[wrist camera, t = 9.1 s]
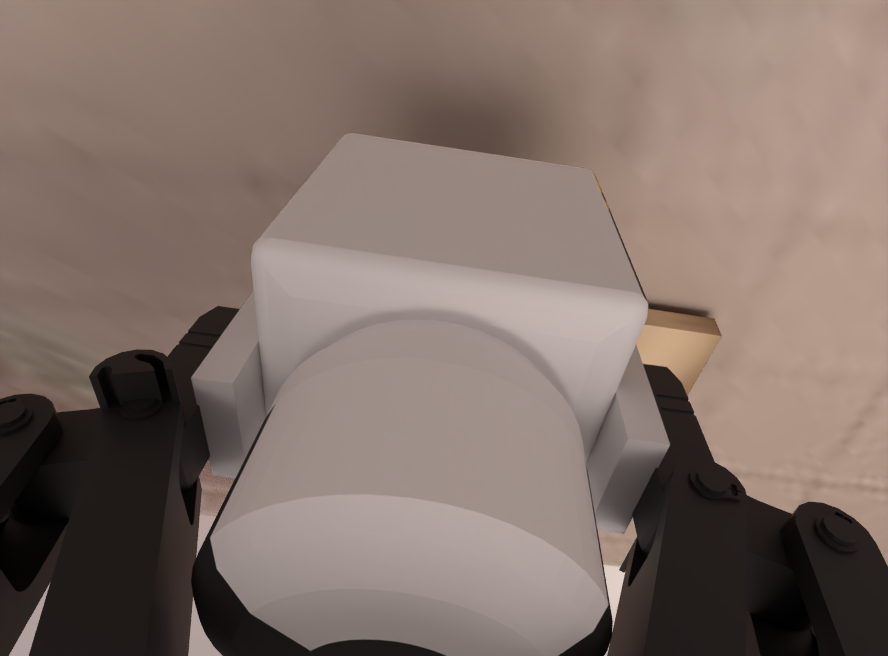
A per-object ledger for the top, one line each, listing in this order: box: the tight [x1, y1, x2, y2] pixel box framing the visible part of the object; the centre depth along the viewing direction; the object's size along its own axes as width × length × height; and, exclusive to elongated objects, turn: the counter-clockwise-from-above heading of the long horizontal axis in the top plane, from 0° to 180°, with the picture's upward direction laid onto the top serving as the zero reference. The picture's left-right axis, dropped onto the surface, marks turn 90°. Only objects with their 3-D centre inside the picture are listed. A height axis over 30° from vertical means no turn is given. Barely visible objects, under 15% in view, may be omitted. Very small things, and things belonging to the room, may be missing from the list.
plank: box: [636, 309, 722, 396], centre depth 32 cm, size 16×8×2 cm, turn 84°
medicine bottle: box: [191, 133, 648, 656], centre depth 12 cm, size 7×7×12 cm
